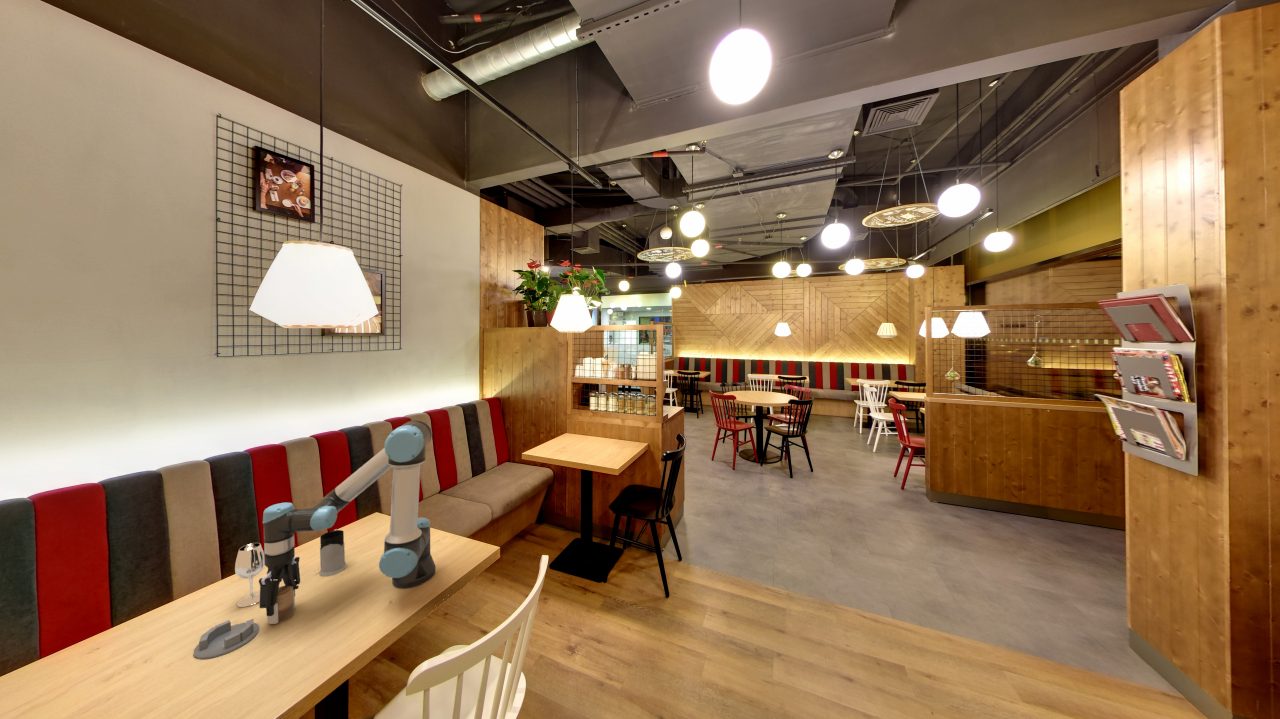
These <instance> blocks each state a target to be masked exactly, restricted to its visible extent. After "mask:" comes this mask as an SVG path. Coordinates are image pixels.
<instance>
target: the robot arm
mask: <svg viewBox="0 0 1280 719" xmlns="http://www.w3.org/2000/svg"><path fill="white" fill-rule="evenodd" d="M432 438H433V431H432V428H431V426H430V425H429V424H428V423H427V422H425V421H423V420H421V419H413V420H409V421H407V422H405V423H403V424H402V425H401V426H398V427H397V428H395V429H393V430H392V431H391V432H390V434H389V435H388V436H387V437H386V439H385V442H384V447H383V448H382V449H381V450H380V451H378V452H377V453H376V454H375V455H374V456H373V457H371V458H370V459H369V460H367V462H365V463H364V464H362V466H360V467H359V468H357V470H356V471H354V472H353V473H352V474H350V476H348V477H347V478H346V479H345V480H344V481H342V482H341V483H340V484H339V485H337V486H336V487H335V488H334V489H332V490H331V491H330V492H329V493H327V494H326V495H325V496H324V497H322V498H321V499H320V500H319V501H317V502H316V503H315V504H313V505H312V506H311V507H306V508H295V507H294V504H293V503H292V502H281V503H276V504H272V505H270V506H268V507H267V508H264V511H263V513H262V514H263V516H262V527H263V544H264V546H263V547H264V550H263V552H264V563H265V566H264V567H266V568H267V571H266V575H265V576H263V577H262V578H261V577H260V578H259V579H258V583H259V593H260V602H259V609H265V611H266V617H267V625H276V624H279V623H278V603H276V598H277V593H278V588H279V587H280V583H282V582H283V585H284V586H292V587H293V599H294V609H296V603H295V602H296V600H295V598H296V590H298V589H299V587H300V586H299V585H300V584H301V575H300V564H299V563H300V556H295V554H296V553H295V549H296V548H295V546H296V544H295V533H300V532H310V531H321V530H325V529H330V528H332V527H333V526H334V525H335V523H336V522H337V519H338V513H339V512H340V511H342V510H343V509H344V508H346V506H347V505H349V503H351V502H352V501H353V500H354V499H355V498H357V497H358V496H359V495H360V494H362V493H363V492H364V491H366V489H368V488H370V486H371V485H372V484H374V483H375V482H376V481H377V480H378V479H380V478H381V477H382V476H384V475H385V474H386V472H388V471H389V470H390V469H391V468H392V481H391V498H390V500H391V501H390V503H391V505H390V506H391V507H390V519H389V520H390V524H389V532H388V533H387V534H386V535H385V537H384V542H383V543H384V546H383V554H381V557H380V558H379V563H378V568H379V571H380V572H381V573H382V574H383V575H385V576H386V577H388V578H390V579H391V580H392V582H391V584H392V585H393V587H394V588H399V589H409V588H414V587H417V586H419V585H422V584H425V583H427V582H428V581H429V580H431V579H432V578H433V577H434V576H435V574H436V572H437V571H436V567H437V566H436V564H435V561H434V559H433V557H432V554H431V527H432V526H431V522H430V521H431V520H429V519H428V518H427V517H419V499H420V477H421V465H422V464H424V463H425V462H426V454H427V446H428V445H429V443H430V442H431V440H432Z"/></svg>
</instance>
